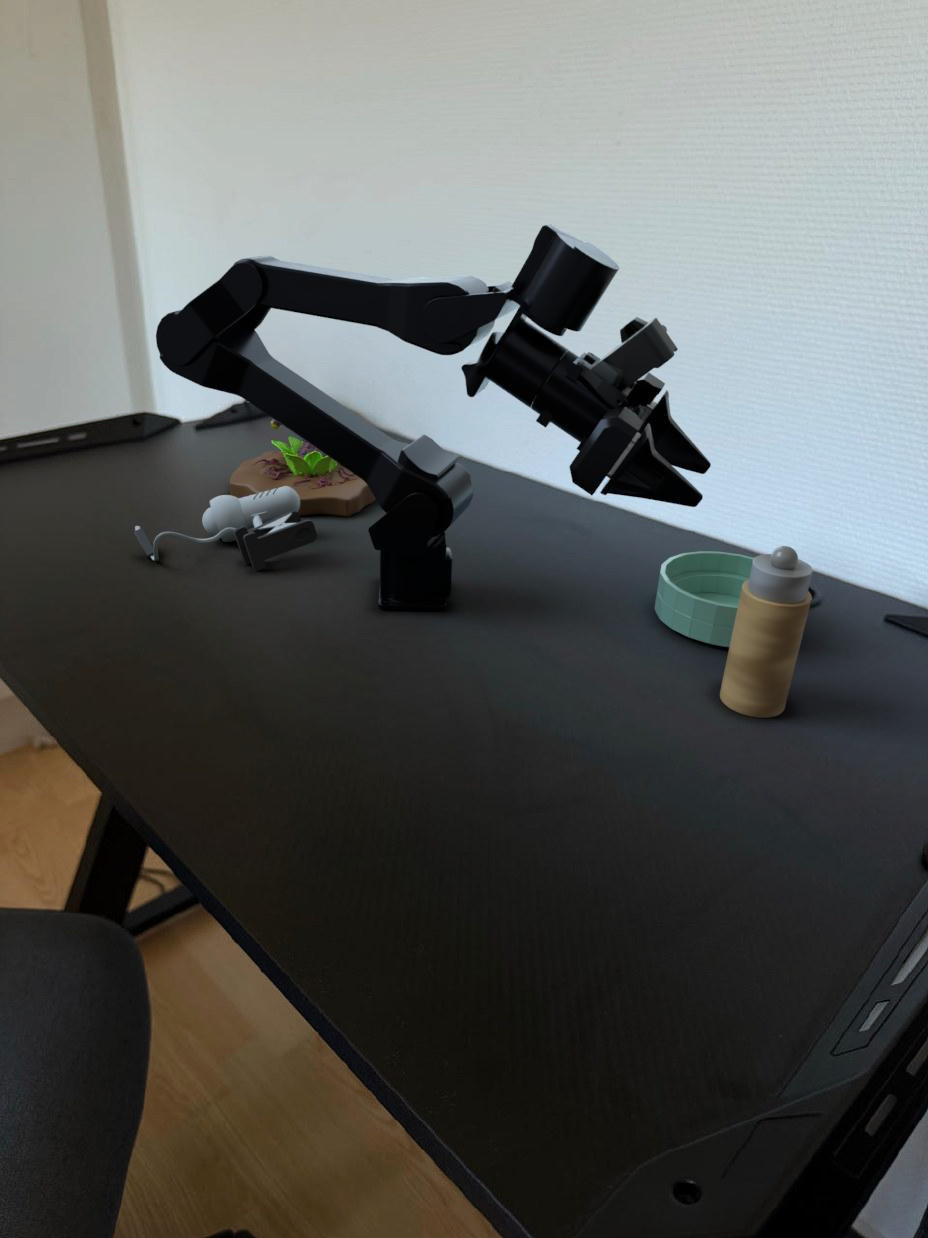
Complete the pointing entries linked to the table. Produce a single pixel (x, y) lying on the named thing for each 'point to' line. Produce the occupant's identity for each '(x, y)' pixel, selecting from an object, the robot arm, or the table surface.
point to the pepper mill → (767, 634)
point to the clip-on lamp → (249, 525)
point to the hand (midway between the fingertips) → (703, 484)
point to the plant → (303, 479)
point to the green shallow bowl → (702, 594)
